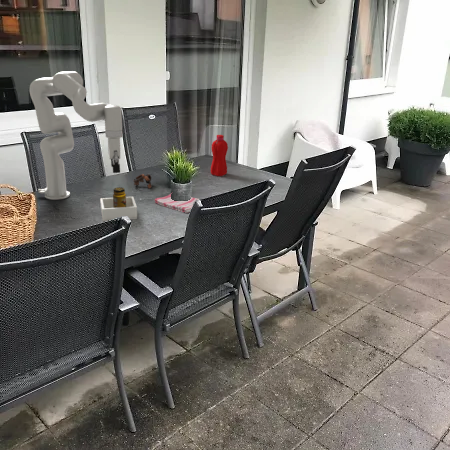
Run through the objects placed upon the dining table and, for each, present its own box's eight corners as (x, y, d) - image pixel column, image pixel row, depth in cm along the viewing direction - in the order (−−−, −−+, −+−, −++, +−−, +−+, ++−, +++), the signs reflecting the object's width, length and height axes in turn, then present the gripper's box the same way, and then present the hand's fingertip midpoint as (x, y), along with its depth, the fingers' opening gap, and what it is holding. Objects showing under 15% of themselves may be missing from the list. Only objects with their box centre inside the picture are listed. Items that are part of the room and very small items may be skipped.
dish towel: (175, 195, 259) (175, 189, 257) (208, 206, 246) (209, 199, 245) (153, 203, 246) (153, 197, 245) (187, 215, 234) (187, 208, 232)
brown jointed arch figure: (148, 191, 264) (140, 179, 261) (136, 195, 269) (128, 183, 266) (158, 180, 273) (150, 168, 270) (146, 184, 278) (139, 172, 275)
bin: (102, 221, 221) (102, 209, 218) (101, 209, 234) (100, 198, 232) (137, 218, 225) (136, 207, 223) (133, 207, 238) (133, 196, 236)
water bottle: (207, 175, 294) (208, 135, 284) (216, 171, 303) (217, 132, 293) (219, 178, 290) (221, 137, 280) (228, 174, 298) (230, 134, 289)
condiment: (129, 213, 229) (128, 189, 224) (112, 216, 224) (111, 192, 220) (123, 208, 234) (122, 185, 230) (107, 211, 230) (105, 188, 225)
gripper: (104, 129, 221) (106, 164, 228) (106, 137, 206) (108, 175, 213) (120, 129, 223) (122, 164, 230) (124, 137, 208) (125, 174, 215)
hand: (115, 169), depth 221 cm, fingers open, 9 cm apart
